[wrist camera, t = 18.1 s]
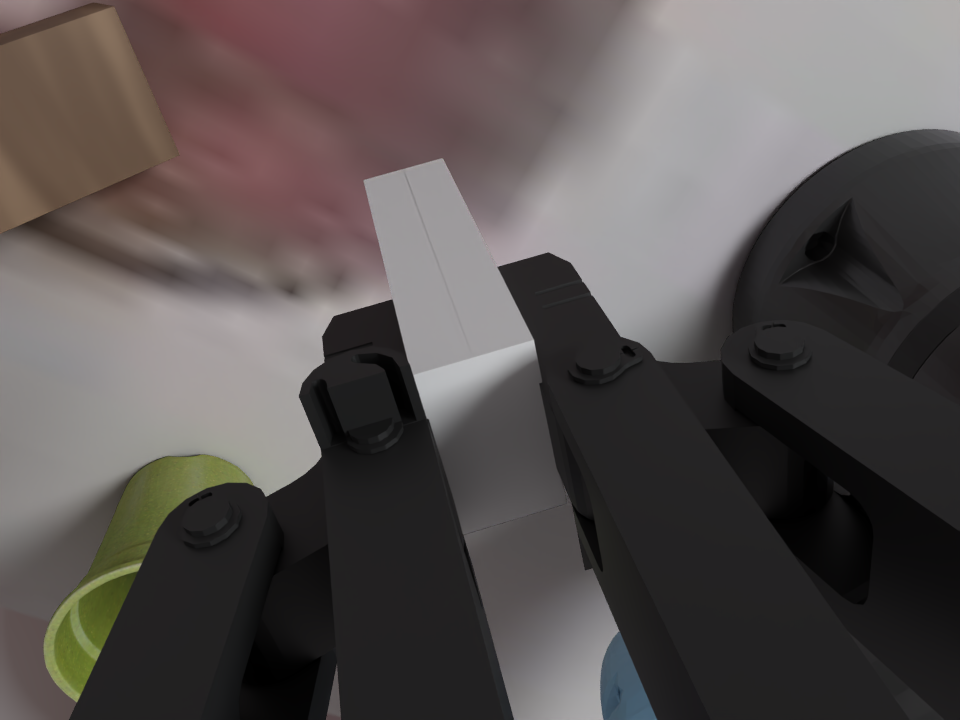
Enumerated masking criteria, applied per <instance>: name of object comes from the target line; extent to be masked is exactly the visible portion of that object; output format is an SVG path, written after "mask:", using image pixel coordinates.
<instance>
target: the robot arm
mask: <svg viewBox="0 0 960 720" xmlns="http://www.w3.org/2000/svg"><path fill="white" fill-rule="evenodd" d="M364 184H365V188H366V192H367V196H368V201H369V205H370V209H371V213H372V217H373V221H374V225H375V229H376V233H377V237H378V241H379V245H380V249H381V254H382V258H383V262H384V266H385V270H386V274H387V278H388V282H389V286H390V290H391V294H392V298H393V299H392V300H389V301H385V302H382V303H378V304H375V305H371V306H368V307H364V308H361V309H357V310H354V311H350V312H347V313H343V314H340V315H336V316H334V317H333V318H332V320H331V322H330V324H329V325H328V327H327V329H326V331H325V333H324V334H323V336H322V339H323V351H324V357H325V359H324V362H325V363H323V364H322V365H320V366H319V367H317V368H316V369H314V370H313V371H312V373H311V374H310V375H309V376H308V377H307V378H306V380H305V381H304V382H303V383H302V387H301V391H300V394H299V398H300V400H301V403H302V405H303V407H304V410H305V412H306V415H307V417H308V420H309V422H310V424H311V427H312V429H313V432H314V434H315V436H316V439H317V441H318V444H319V446H320V448H321V455H322V457H321V458H320V460H319V461H318V462H317V464H316V465H315V466H313V467H312V468H311V469H310V470H309V471H308V472H307V473H306V474H304V475H303V476H301V477H300V478H298V479H297V480H295V481H294V482H292V483H291V484H289V485H287V486H285V487H283V488H281V489H280V490H278V491H276V492H274V493H272V494H270V495H269V496H267V497H265V495H264V493H263V492H262V490H261V489H260V488H257V487H255V486H253V485H251V484H248V483H224V484H220V485H216V486H213V487H209V488H206V489H204V490H202V491H200V492H198V493H196V494H195V495H193V496H191V497H189V498H187V499H185V500H184V501H183V502H182V503H181V504H180V505H178V506H177V507H176V508H175V509H174V510H172V511H171V512H170V513H169V514H168V515H167V517H166V518H165V520H164V521H163V523H162V524H161V526H160V527H159V528H158V530H157V532H156V534H155V536H154V538H153V540H152V543H151V545H150V547H149V549H148V551H147V553H146V555H145V558H144V560H143V562H142V564H141V566H140V568H139V570H138V573H137V575H136V577H135V579H134V581H133V583H132V585H131V588H130V590H129V592H128V594H127V596H126V598H125V601H124V603H123V605H122V607H121V609H120V611H119V613H118V616H117V618H116V620H115V622H114V624H113V626H112V628H111V631H110V633H109V635H108V637H107V639H106V641H105V643H104V646H103V648H102V650H101V652H100V654H99V656H98V659H97V661H96V663H95V665H94V667H93V669H92V671H91V674H90V676H89V678H88V680H87V682H86V684H85V686H84V689H83V691H82V693H81V695H80V697H79V699H78V701H77V704H76V706H75V708H74V710H73V712H72V714H71V717H70V719H69V720H326V716H327V711H328V706H329V700H330V695H331V690H332V685H333V680H334V675H335V670H336V665H337V668H338V682H339V695H340V708H341V720H514V718H513V714H512V711H511V707H510V703H509V700H508V696H507V692H506V688H505V685H504V681H503V677H502V674H501V670H500V666H499V662H498V659H497V655H496V651H495V648H494V644H493V640H492V636H491V633H490V629H489V625H488V621H487V618H486V614H485V610H484V607H483V603H482V599H481V595H480V592H479V588H478V584H477V581H476V577H475V573H474V569H473V566H472V562H471V559H470V556H469V553H468V549H467V546H466V543H465V540H464V536H463V535H465V534H468V533H472V532H475V531H478V530H482V529H485V528H488V527H491V526H495V525H498V524H501V523H505V522H508V521H511V520H515V519H518V518H521V517H524V516H528V515H531V514H534V513H538V512H541V511H544V510H547V509H551V508H554V507H557V506H561V505H564V504H567V501H566V496H565V491H564V486H565V489H566V491H567V493H568V495H569V498H570V500H571V502H572V507H573V512H574V517H575V522H576V527H577V532H578V537H579V542H580V547H581V552H582V557H583V562H584V567H585V570H588V569H591V568H593V570H594V572H595V574H596V577H597V579H598V581H599V584H600V586H601V588H602V591H603V593H604V596H605V598H606V600H607V603H608V605H609V607H610V610H611V612H612V615H613V617H614V619H615V622H616V624H617V626H618V629H619V632H618V633H617V634H616V636H615V637H614V638H613V640H612V641H611V643H610V645H609V646H608V648H607V651H606V653H605V656H604V659H603V663H602V669H601V679H600V694H601V707H602V714H603V719H604V720H960V133H958V132H954V131H948V130H938V129H923V130H913V131H907V132H902V133H897V134H893V135H889V136H886V137H883V138H880V139H877V140H875V141H872V142H870V143H867V144H865V145H863V146H861V147H859V148H856V149H854V150H852V151H851V152H849V153H847V154H845V155H843V156H842V157H840V158H838V159H837V160H835V161H834V162H832V163H831V164H829V165H828V166H826V167H825V168H823V169H822V170H821V171H819V172H818V173H817V174H816V175H814V176H813V177H812V178H810V179H809V180H808V181H807V182H806V183H805V184H804V185H802V186H801V187H800V188H799V189H798V190H797V191H796V192H795V193H794V194H793V195H792V196H791V197H790V198H789V199H788V200H787V201H786V202H785V204H784V205H783V206H782V207H781V208H780V209H779V210H778V212H777V213H776V214H775V215H774V217H773V218H772V219H771V221H770V222H769V223H768V225H767V226H766V227H765V229H764V230H763V232H762V234H761V235H760V237H759V238H758V240H757V242H756V243H755V245H754V247H753V249H752V251H751V253H750V255H749V257H748V259H747V261H746V264H745V266H744V269H743V271H742V274H741V277H740V280H739V283H738V287H737V291H736V295H735V301H734V309H733V333H734V334H732V335H731V336H729V337H728V338H727V339H726V341H725V343H724V345H723V347H722V348H721V360H720V361H707V362H695V363H668V362H661V361H656V360H655V358H654V357H653V355H652V354H651V353H650V352H649V351H648V350H647V349H646V348H645V347H643V346H642V345H641V344H640V343H638V342H635V341H632V340H629V339H626V338H623V337H620V335H619V334H618V332H617V331H616V329H615V328H614V326H613V325H612V323H611V322H610V321H609V319H608V318H607V316H606V315H605V313H604V312H603V310H602V309H601V307H600V306H599V304H598V303H597V301H596V300H595V298H594V297H593V295H592V296H591V293H590V291H589V289H588V288H587V286H586V285H585V284H584V282H582V279H581V278H580V276H579V275H578V273H577V272H576V270H575V269H574V267H573V266H572V264H571V263H570V262H568V261H565V260H563V259H561V258H559V257H557V256H555V255H553V254H551V253H549V252H548V253H545V254H541V255H538V256H534V257H531V258H527V259H524V260H520V261H517V262H513V263H510V264H506V265H503V266H499V267H497V266H496V264H495V262H494V260H493V258H492V256H491V254H490V252H489V250H488V248H487V246H486V244H485V242H484V240H483V238H482V236H481V234H480V232H479V230H478V228H477V226H476V224H475V222H474V220H473V218H472V216H471V214H470V212H469V210H468V208H467V206H466V204H465V202H464V200H463V198H462V196H461V194H460V192H459V190H458V188H457V186H456V184H455V182H454V180H453V178H452V176H451V174H450V172H449V170H448V168H447V166H446V164H445V162H444V160H443V158H442V159H438V160H434V161H431V162H427V163H424V164H420V165H416V166H413V167H409V168H406V169H402V170H398V171H395V172H391V173H388V174H384V175H380V176H377V177H373V178H370V179H366V180H364ZM563 484H564V486H563Z"/></svg>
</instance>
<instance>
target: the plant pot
mask: <svg viewBox="0 0 960 720" xmlns="http://www.w3.org/2000/svg"><path fill="white" fill-rule="evenodd" d="M224 483H248V484H251V485H253V483H252V481H251V480H250V479H249V478H248V476H247V475H246V474H245V473H244V472H243V471H241V470H240V469H239V468H238V467H236V466H235V465H233V464H231V463H230V462H227V461H225V460H223V459H220V458H217V457H214V456H209V455H198V456H192V457H171V456H169V457H164V458H161V459H159V460H156V461H154V462H152V463H150V464H148V465H146V466H145V467H144V468H142V469H141V470H140V471H138V472H137V473H136V474H135V475H134V476H133V478H132V479H131V480H130V482H129V483H128V485H127V486H126V489H125V491H124V493H123V495H122V497H121V500H120V502H119V504H118V506H117V509H116V511H115V514H114V516H113V518H112V521H111V523H110V525H109V528H108V530H107V532H106V534H105V537H104V539H103V541H102V543H101V546H100V548H99V550H98V552H97V554H96V557H95V559H94V561H93V563H92V565H91V568H90V570H89V572H88V574H87V575H86V576H85V577H84V578H83V580H82V581H81V582H80V583H79V585H78V586H77V588H75V589H74V590H73V591H72V592H71V593H70V594H69V595H68V596H67V597H66V598H65V599H64V600H63V602H62V603H61V604H60V605H59V607H58V608H57V610H56V611H55V613H54V615H53V616H52V618H51V620H50V622H49V625H48V627H47V630H46V633H45V638H44V645H43V651H44V659H45V663H46V668H47V669H48V671H49V674H50V676H51V677H52V679H53V680H54V682H55V683H56V684H57V686H58V687H59V688H61V690H62V691H63V692H64V693H66V694H67V695H68V696H69V697H70V698H72V699H73V700H74V701H75V702H77V701H78V699H79V697H80V695H81V693H82V691H83V689H84V686H85V684H86V682H87V680H88V678H89V676H90V674H91V671H92V669H93V667H94V665H95V663H96V661H97V659H98V656H99V654H100V652H101V650H102V648H103V646H104V643H105V641H106V639H107V637H108V635H109V633H110V631H111V628H112V626H113V624H114V622H115V620H116V618H117V616H118V613H119V611H120V609H121V607H122V605H123V603H124V601H125V598H126V596H127V594H128V592H129V590H130V588H131V585H132V583H133V581H134V579H135V577H136V575H137V573H138V570H139V568H140V566H141V564H142V562H143V560H144V558H145V555H146V553H147V551H148V549H149V547H150V545H151V543H152V540H153V538H154V536H155V534H156V532H157V530H158V528H159V527H160V526H161V524H162V523H163V521H164V520H165V518H166V517H167V515H168V514H169V513H170V512H171V511H172V510H174V509H175V508H176V507H177V506H178V505H180V504H181V503H182V502H183V501H184V500H185V499H187V498H189V497H191V496H193V495H195V494H196V493H198V492H200V491H202V490H204V489H206V488H209V487H213V486H216V485H220V484H224ZM253 486H254V485H253Z"/></svg>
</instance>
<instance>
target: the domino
mask: <svg viewBox="0 0 960 720" xmlns="http://www.w3.org/2000/svg"><path fill="white" fill-rule="evenodd" d="M176 156H179V152H178V150H177V148H176V146H175V143H174V141H173V139H172V137H171V134H170V132H169V130H168V127H167V125H166V123H165V121H164V118H163V116H162V114H161V112H160V109H159V107H158V105H157V103H156V100H155V98H154V96H153V94H152V91H151V89H150V87H149V85H148V82H147V80H146V78H145V75H144V73H143V71H142V69H141V66H140V64H139V62H138V60H137V57H136V55H135V53H134V51H133V48H132V46H131V44H130V42H129V39H128V37H127V35H126V33H125V30H124V28H123V26H122V24H121V21H120V19H119V17H118V14H117V12H116V10H115V8H114V6H109V5H104V4H98V3H91V4H88V5H85V6H82V7H79V8H76V9H73V10H70V11H67V12H64V13H61V14H58V15H55V16H52V17H49V18H46V19H43V20H41V21H38V22H35V23H32V24H29V25H26V26H23V27H20V28H17V29H14V30H11V31H8V32H5V33H2V34H0V234H1V233H3V232H5V231H8V230H10V229H12V228H14V227H17V226H19V225H21V224H24V223H26V222H28V221H30V220H33V219H35V218H37V217H40V216H42V215H44V214H46V213H49V212H51V211H53V210H56V209H58V208H60V207H62V206H65V205H67V204H69V203H72V202H74V201H76V200H78V199H81V198H83V197H85V196H87V195H90V194H92V193H94V192H97V191H99V190H101V189H103V188H106V187H108V186H110V185H113V184H115V183H117V182H119V181H122V180H124V179H126V178H129V177H131V176H133V175H135V174H138V173H140V172H142V171H145V170H147V169H149V168H151V167H154V166H156V165H158V164H160V163H163V162H165V161H167V160H170V159H172V158H174V157H176Z"/></svg>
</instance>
